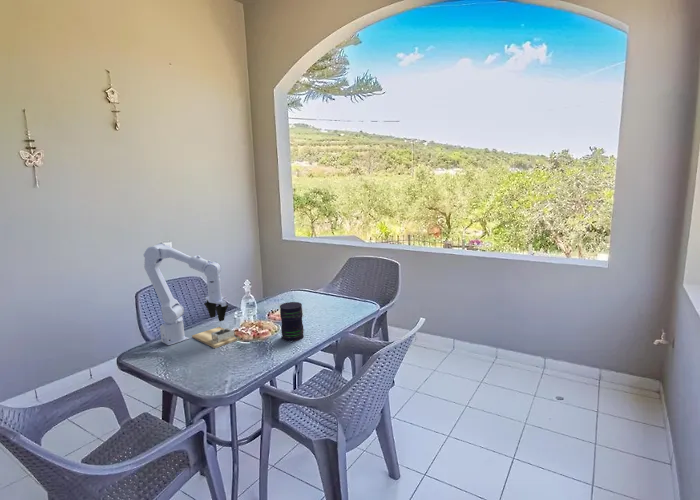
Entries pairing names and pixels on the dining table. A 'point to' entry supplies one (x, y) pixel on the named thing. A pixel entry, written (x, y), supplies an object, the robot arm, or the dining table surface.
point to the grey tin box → (222, 335)
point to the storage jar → (291, 321)
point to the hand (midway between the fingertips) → (217, 318)
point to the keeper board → (207, 338)
